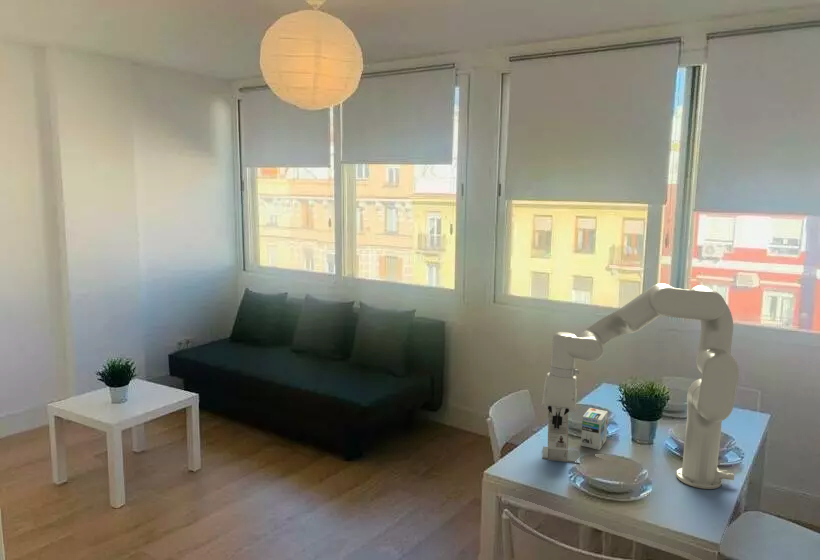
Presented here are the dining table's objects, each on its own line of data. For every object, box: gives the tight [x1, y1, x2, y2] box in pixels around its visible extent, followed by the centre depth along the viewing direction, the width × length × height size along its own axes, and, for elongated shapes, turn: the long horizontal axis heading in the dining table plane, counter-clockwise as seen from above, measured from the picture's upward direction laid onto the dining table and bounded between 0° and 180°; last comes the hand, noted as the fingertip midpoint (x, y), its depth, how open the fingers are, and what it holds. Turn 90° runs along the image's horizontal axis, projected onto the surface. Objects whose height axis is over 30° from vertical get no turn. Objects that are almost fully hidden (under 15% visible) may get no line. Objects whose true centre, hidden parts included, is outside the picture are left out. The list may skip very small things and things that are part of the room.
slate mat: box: [541, 446, 581, 464], centre depth 202 cm, size 12×9×1 cm
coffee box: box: [547, 407, 569, 463], centre depth 199 cm, size 9×6×16 cm
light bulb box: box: [580, 407, 609, 451], centre depth 212 cm, size 11×7×11 cm, turn 150°
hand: (556, 426), depth 194 cm, fingers closed
